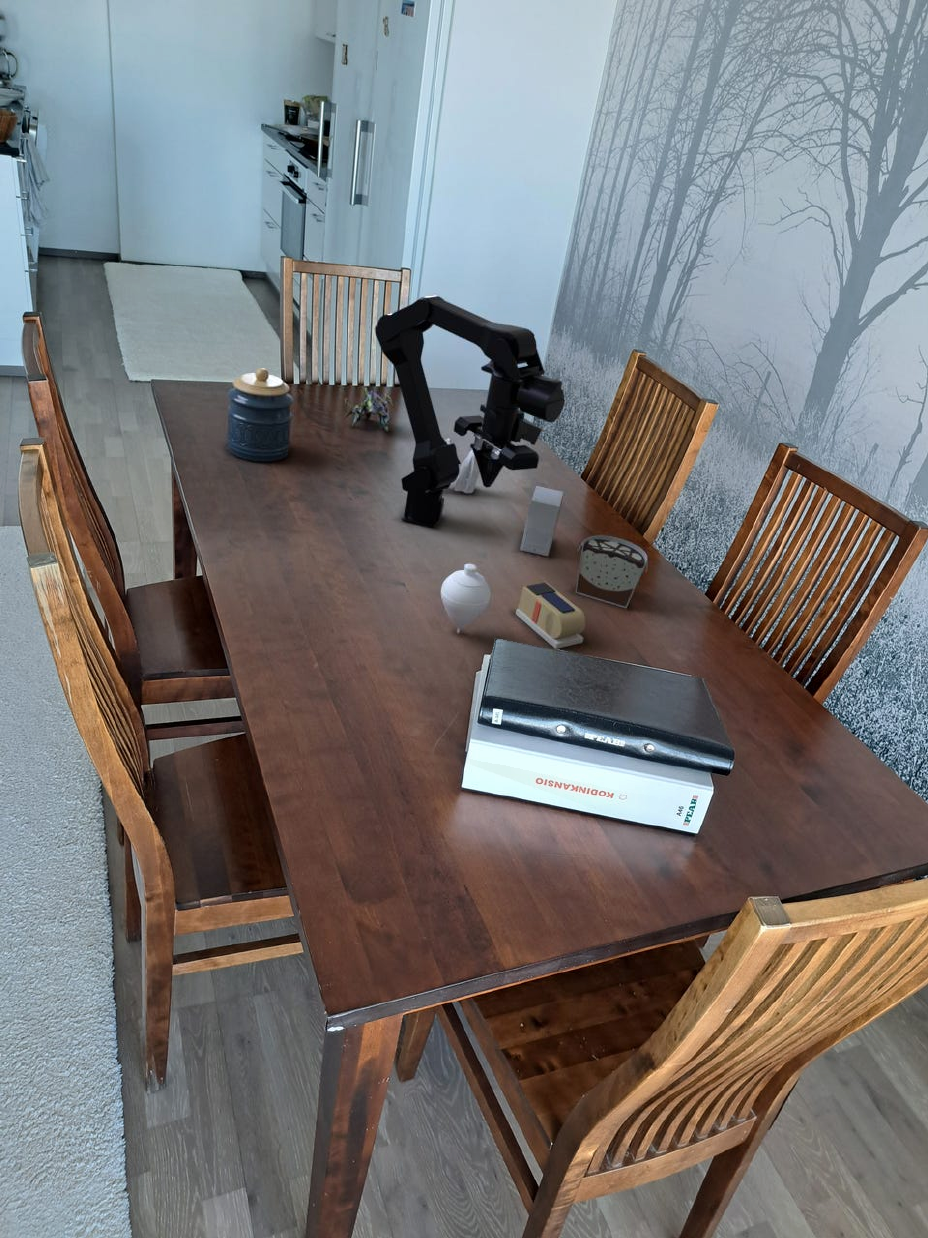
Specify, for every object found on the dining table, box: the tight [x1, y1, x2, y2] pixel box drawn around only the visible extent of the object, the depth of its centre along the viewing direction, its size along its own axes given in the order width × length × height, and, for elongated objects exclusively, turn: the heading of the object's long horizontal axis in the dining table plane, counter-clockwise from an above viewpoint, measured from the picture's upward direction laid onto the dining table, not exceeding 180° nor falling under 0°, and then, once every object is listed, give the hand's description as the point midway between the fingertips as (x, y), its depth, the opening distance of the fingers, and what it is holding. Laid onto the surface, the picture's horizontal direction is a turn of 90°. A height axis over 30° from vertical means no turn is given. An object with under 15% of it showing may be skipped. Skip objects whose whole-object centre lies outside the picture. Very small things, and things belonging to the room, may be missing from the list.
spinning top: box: [440, 563, 491, 634], centre depth 139 cm, size 8×8×12 cm
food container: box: [574, 535, 649, 610], centre depth 159 cm, size 12×6×10 cm, turn 71°
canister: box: [226, 367, 294, 463], centre depth 186 cm, size 13×13×18 cm
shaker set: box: [444, 438, 480, 494], centre depth 187 cm, size 12×4×11 cm, turn 104°
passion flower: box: [343, 387, 396, 432], centre depth 212 cm, size 11×11×12 cm
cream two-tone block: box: [515, 582, 586, 650], centre depth 146 cm, size 6×6×11 cm
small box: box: [519, 485, 565, 557], centre depth 171 cm, size 8×6×10 cm
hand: (486, 486), depth 164 cm, fingers closed
